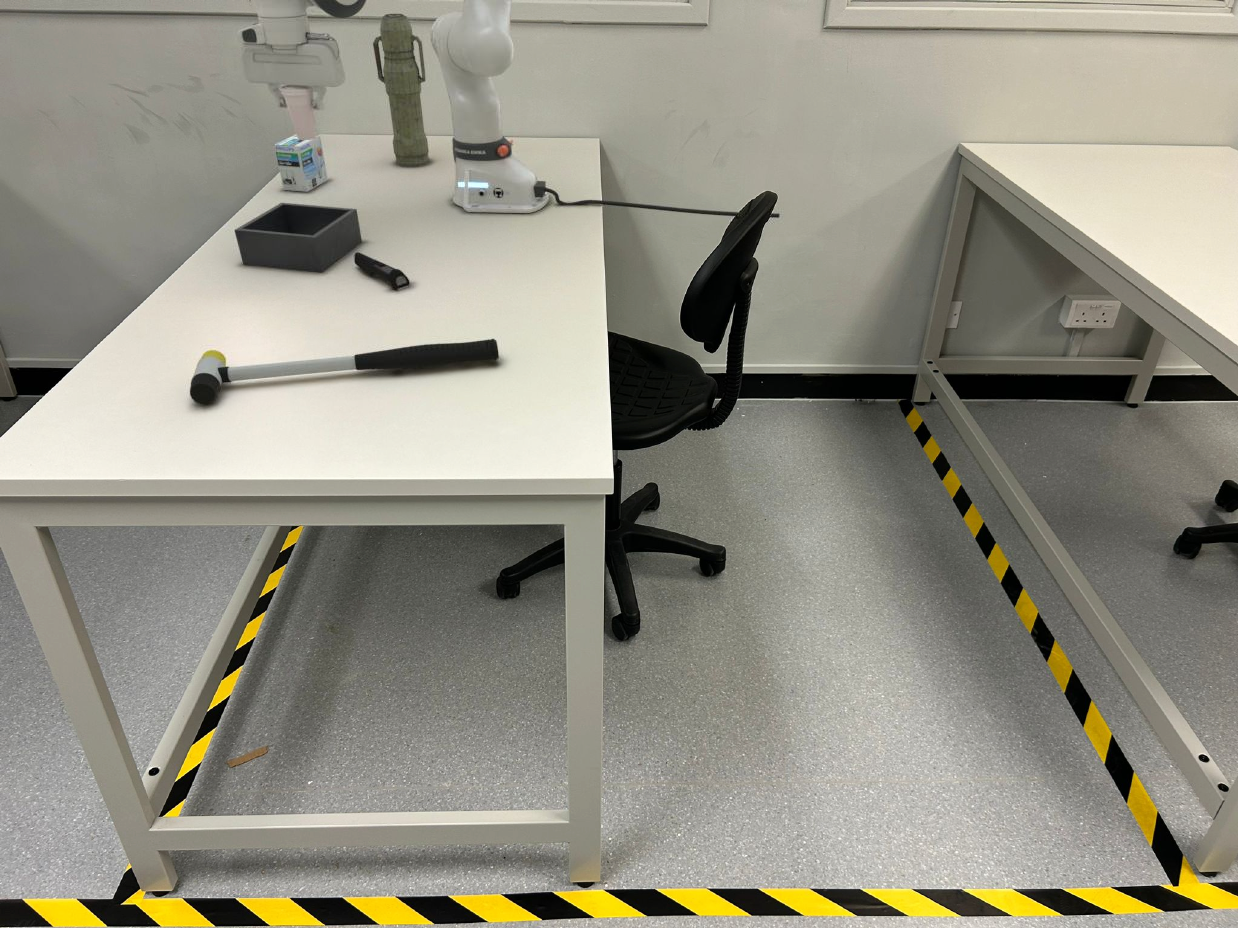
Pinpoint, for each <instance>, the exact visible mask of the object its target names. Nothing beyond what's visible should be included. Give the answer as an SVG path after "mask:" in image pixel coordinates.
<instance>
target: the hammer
mask: <svg viewBox="0 0 1238 928" xmlns="http://www.w3.org/2000/svg"><path fill="white" fill-rule="evenodd" d="M499 358H500V356H499V347H498V341H497V339H495V338H488V339H483V340H474V341H465V342H448V343H447V342H445V343H428V344H417V345H410V346H404V347H403V346H402V347H397V348H392V349H385V350H377V351H370V352H363V353H358V354H354V355H349V356H348V355H347V356H336V357H326V358H316V359H304V360H293V361H283V362H273V363H261V364H249V365H243V366H242V365H240V366H227V358H226V356H225V355H224V354H223V353H222V352H221V351H219V350H216V349H209V350H206V351H205V352H203V354H202V355H201V357H200V359H199V360H198V362H197V363H196V368H195V370H194V373H193V376H192V378H191V380H190V388H189V397H190V398H191V399H192V400H193V401H194V402H195V403H197V404H200V405H208V404H211V403H212V402H214V401H215V399H216V397H217V395H218V394H219V392H220V390H221V387H222V384H225V383H227V384H228V383H232V382H239V381H248V380H260V379H268V378H280V377H281V378H282V377H291V376H300V375H301V376H302V375H312V374H323V373H331V372H343V371H353V370H356V371H371V370H375V371H376V370H397V369H399V370H400V369H402V370H403V369H421V368H431V367H432V368H433V367H440V366H447V365H448V366H449V365H453V364H454V365H456V364H461V363H469V362H484V361H497V360H499Z"/></svg>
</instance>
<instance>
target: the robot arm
mask: <svg viewBox="0 0 1238 928" xmlns="http://www.w3.org/2000/svg"><path fill="white" fill-rule="evenodd" d="M366 2H367V0H256V3H257V4H256V5H257V11H256V12H257V13H256V14H257V19H258V22H256V23H254V24H252V25H250V26H248V27H244V28H242V29H239V30H238V31H237V33H236V34H237V39H238V42H240V43H241V45H240V47H239V56H240V62H241V63H240V64H241V68H242V73H243V76H244V78H245V79H246V80H247V81H248V83H249V84H250V83H251V84H266V85H267V87H268V90H269V91H270V93H271V94H272V96H273V97H274V98H275V100H276V103H277V107H278V108H279V109H288V107H287V104H286V102H285V98H284V95H283V94H281V89H280V88H281V87H282V86H281V85H284V86H286V85H304V86H314V90H315V92H314V93H316V97H315V98H314V100H312V104H313V109H314V110H315V111H322V110H324V109H325V104H324V98H325V97H326V96H325V95H326V93H327V88H337V87H340V86H342V85H343V84H344V83H345V81H346V73H345V69H344V65H343V62H342V59H341V56H340V47H339V43H338V41H337V40H336V39H335V38H334V37H333V36H331V35H330V34H329V33H326V32H325V33H323V32H322V33H318V32H317V33H316V32H311V29H310V24H309V19H308V14H307V9H308V8H309V7H315V8H317V9H320V10H322V11H323V12H325V13H326V14H327V15H329V16H331V17H333V18H338V19H347V18H351V17H354V16H355V15H356V14H358V13H359V12H360V11H361V10H362V9H363V8H364V6H365V4H366ZM512 4H513V0H463V5H462V11H453V12H448V13H444V14H442V15H441V16H439V17H437V19H436V20H434V22H433V24H432V26H431V29H430V43H431V46H432V49H433V50H434V52H435V54H436V56H437V59H438V62H439V65H440V70H441V74H442V77H443V81H444V85H445V87H446V91H447V95H448V99H449V104H450V105H449V106H450V114H451V122H452V132H453V137H452V139H451V143H452V155H453V161H454V164H455V179H454V180H455V181H454V192H453V196H452V202H453V203H454V204H455V205H457V206H459V207H461V208H463V210H464V211H465V212H467V213H500V214H501V213H502V214H505V213H506V214H532V213H535V212H537V211H540V210H541V209H543V208H544V207H545V206H546V205H547V204H548V202H549V200H550V196H549V194H551V195H553V196H554V199H555V203H557V204H558V205H559V206H582V205H604V206H615V207H626V208H637V209H644V210H645V209H646V210H656V211H664V212H665V211H666V212H673V213H674V212H675V213H683V214H684V213H685V214H686V213H687V214H695V215H697V214H698V215H708V216H709V215H710V216H725V217H738V216H737V215H738V214H739V213H740V212H741V211H726V210H725V211H724V210H709V209H697V208H684V207H676V206H675V207H674V206H666V205H665V206H664V205H655V204H644V203H636V202H635V203H634V202H623V201H614V200H604V199H603V200H602V199H601V200H600V199H583V200H577V201H574V202H565V201H563V200H560V195H559V193H558V192H557V191H556V190H554V189H552V188H548V187H547V186H546V182H547V181H546V180H538V178H537V174H536V172H535V171H534V170H533V169H531V168H530V167H529V166H528V165H526V164H525V163H524V162H522V161H521V160H520V159H518V157H516V156H515V155H514V154H513V150H512V149H513V148H512V147H513V146H514V143H513V142H514V139H511V140H510V141H509V140H508V139H507V138H506V137H505V136H504V135H503V119H502V117H503V116H502V104H501V100H500V99H501V98H500V96H499V94H498V93H497V91H496V88H495V86H494V82H493V80H492V77H497V76H500V75H502V74H504V73H505V72H507V70H508V69H509V68H510V67H511V65H512V63H513V60H514V56H515V55H514V54H515V50H514V49H515V48H514V43H513V40H512V37H511V17H512V16H511V15H512ZM770 213H771V212H770ZM780 215H781V214H780V213H778V212H777V213H775V212H772V213H771V216H769V217H768V218H771V219H773V218H775V219H776V218H778V219H779V218H780Z"/></svg>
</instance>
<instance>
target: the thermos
mask: <svg viewBox="0 0 1238 928" xmlns="http://www.w3.org/2000/svg"><path fill="white" fill-rule="evenodd" d="M379 31H380V32H379V33H380V36H376V37H375V39H374V41H373V42H372V46H373V52H374V58H375V65H376V70H377V79H378V80H379V81H380V82H381V83H383V84H384V87H385V92H386V95H387V97H388V102H389V109H390V117H391V125H392V132H393V137H392V138H393V139H392V148H393V154H394V156H395V164H396V165H398V166H399V167H402V168H416V167H417V168H418V167H422V166H426V165H428V164H429V163H430V157H429V151H430V149H429V143H428V137H427V134H426V132H425V125H424V116H423V109H422V99H421V93H422V83H424V82H426V69H425V68H426V67H425V60H424V50H423V49H424V48H423V41H422V40H421V39H420V37H419V36H418V35H414V34H413V28H412V25H411V23H410V21H409V18H408V16H407V15H404V14H403V13H388V14H387V13H386V14H384V16H381V20H380V27H379ZM415 41H416V43H417V45H418V55H419V62H420V68H419V66H418V63H417V60H416V55H415V52H414V51H415V45H414V42H415ZM379 42H381V48H382V52H383V55H384V56H383V66H382V60H381V59H382V58H381V53H380V52H381V51H380V44H379ZM420 70H421V71H420ZM420 72H421V73H420Z"/></svg>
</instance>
